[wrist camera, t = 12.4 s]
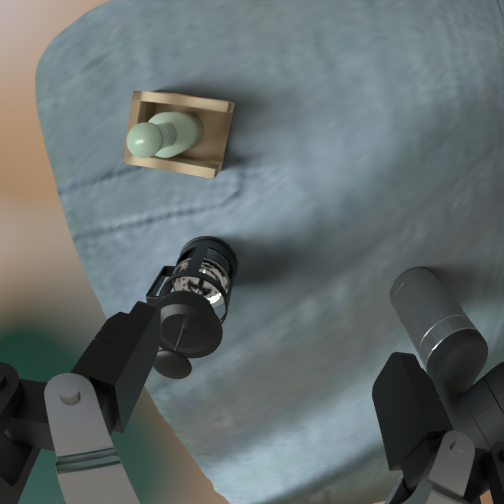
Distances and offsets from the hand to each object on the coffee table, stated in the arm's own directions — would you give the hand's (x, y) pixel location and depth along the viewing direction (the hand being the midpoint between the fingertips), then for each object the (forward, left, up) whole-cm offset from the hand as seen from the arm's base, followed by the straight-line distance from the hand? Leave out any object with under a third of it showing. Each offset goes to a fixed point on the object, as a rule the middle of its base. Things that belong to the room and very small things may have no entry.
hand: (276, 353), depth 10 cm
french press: (+7, +17, -37) cm, 41 cm away
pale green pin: (+13, -3, -36) cm, 38 cm away
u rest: (+13, -3, -37) cm, 39 cm away
